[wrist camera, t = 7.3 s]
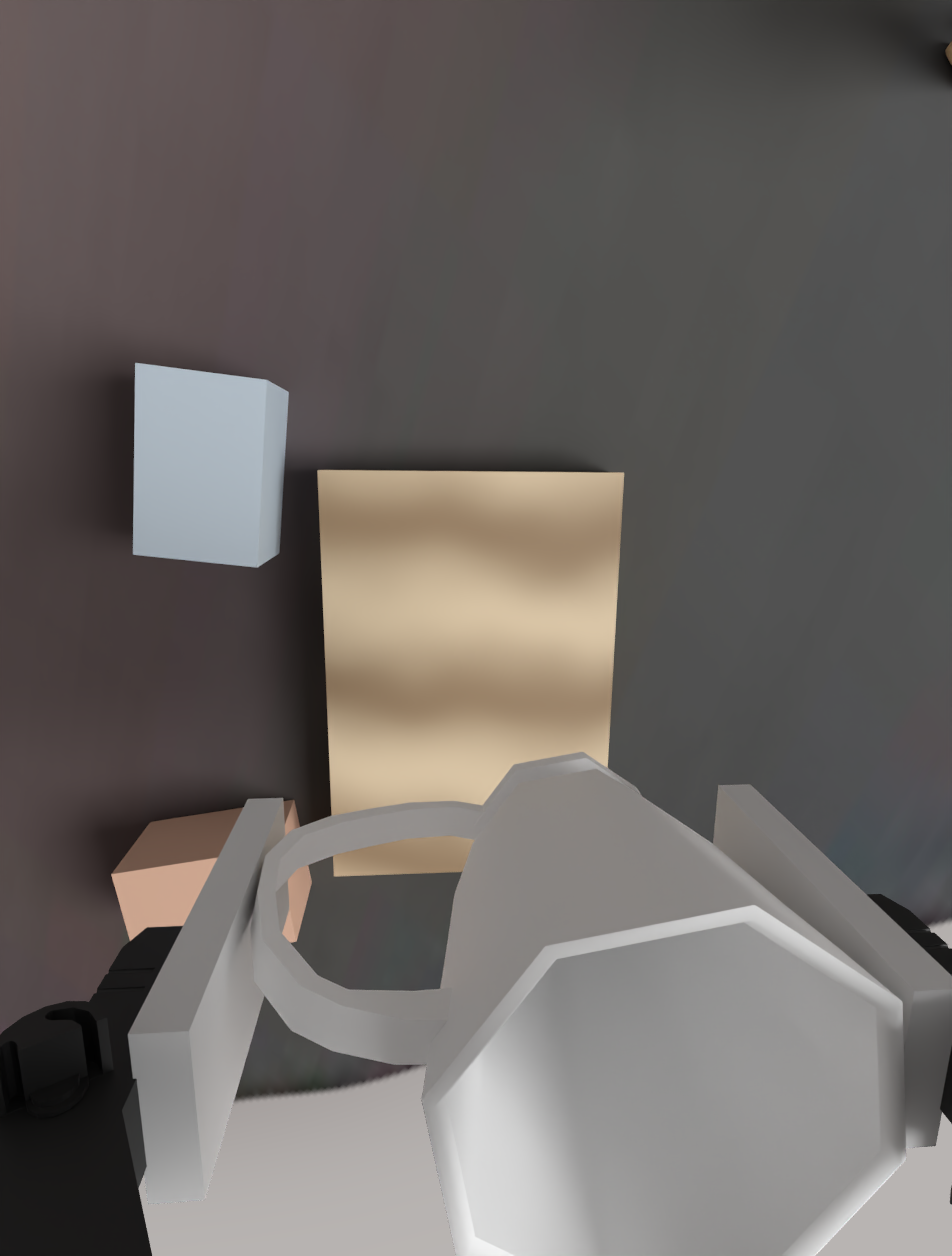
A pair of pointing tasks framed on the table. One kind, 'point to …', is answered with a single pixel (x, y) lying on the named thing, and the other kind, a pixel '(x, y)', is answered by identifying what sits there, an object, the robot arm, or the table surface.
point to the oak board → (461, 637)
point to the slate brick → (208, 466)
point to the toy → (949, 52)
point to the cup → (614, 1030)
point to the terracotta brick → (188, 870)
